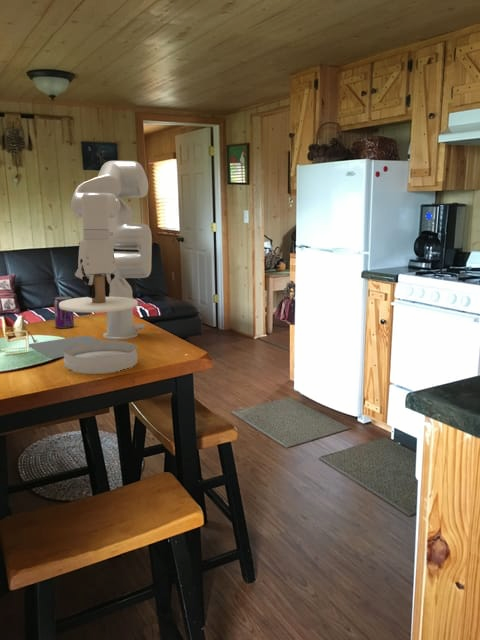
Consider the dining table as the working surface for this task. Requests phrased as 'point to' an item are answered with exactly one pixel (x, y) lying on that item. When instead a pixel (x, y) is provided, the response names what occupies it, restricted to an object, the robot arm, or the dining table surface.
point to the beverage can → (63, 314)
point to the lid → (98, 300)
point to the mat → (59, 345)
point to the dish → (100, 356)
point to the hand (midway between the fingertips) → (98, 296)
